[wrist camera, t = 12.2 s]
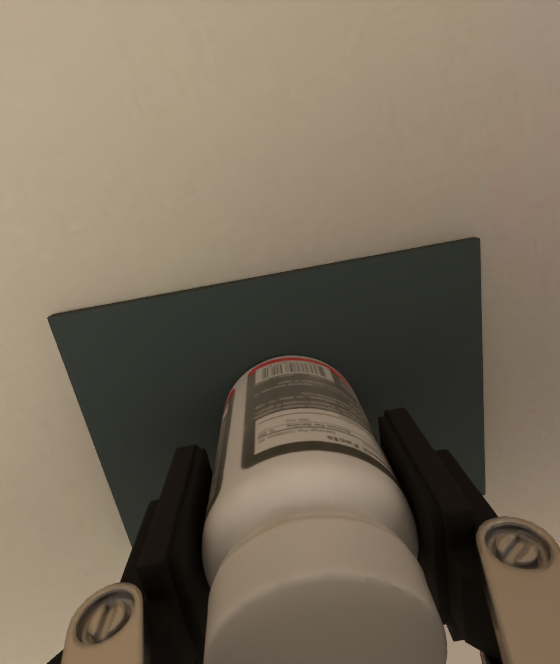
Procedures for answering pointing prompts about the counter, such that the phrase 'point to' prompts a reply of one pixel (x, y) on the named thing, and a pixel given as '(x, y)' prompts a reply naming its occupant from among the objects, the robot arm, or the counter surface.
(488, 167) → the counter surface
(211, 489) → the pill bottle
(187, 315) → the mat
